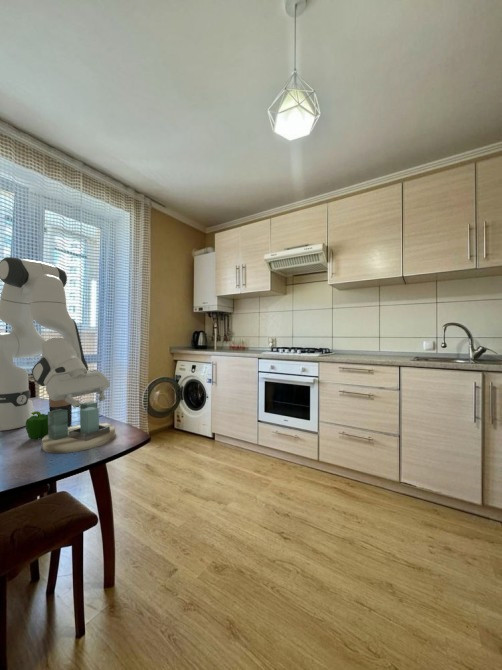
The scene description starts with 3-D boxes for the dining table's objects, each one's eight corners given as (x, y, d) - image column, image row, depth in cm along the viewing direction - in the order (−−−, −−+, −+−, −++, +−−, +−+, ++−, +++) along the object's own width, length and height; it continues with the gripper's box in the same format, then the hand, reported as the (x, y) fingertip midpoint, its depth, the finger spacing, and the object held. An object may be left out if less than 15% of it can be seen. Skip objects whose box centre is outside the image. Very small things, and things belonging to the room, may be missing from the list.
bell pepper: (50, 431, 107) (49, 406, 107) (57, 436, 102) (56, 409, 102) (22, 438, 101) (22, 411, 101) (28, 443, 96) (28, 415, 96)
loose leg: (80, 436, 95) (80, 409, 95) (91, 432, 99) (90, 407, 99) (88, 437, 94) (87, 411, 94) (99, 433, 97) (98, 408, 97)
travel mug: (76, 422, 118) (75, 375, 118) (62, 428, 110) (61, 378, 110) (60, 422, 119) (58, 376, 119) (44, 428, 111) (43, 378, 111)
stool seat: (35, 441, 98) (34, 408, 98) (102, 425, 114) (101, 397, 114) (50, 459, 83) (49, 421, 83) (125, 438, 99) (124, 406, 99)
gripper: (95, 374, 110) (112, 402, 106) (37, 383, 91) (56, 416, 87) (102, 364, 108) (120, 391, 104) (46, 370, 90) (65, 404, 86)
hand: (90, 403), depth 96 cm, fingers open, 8 cm apart
